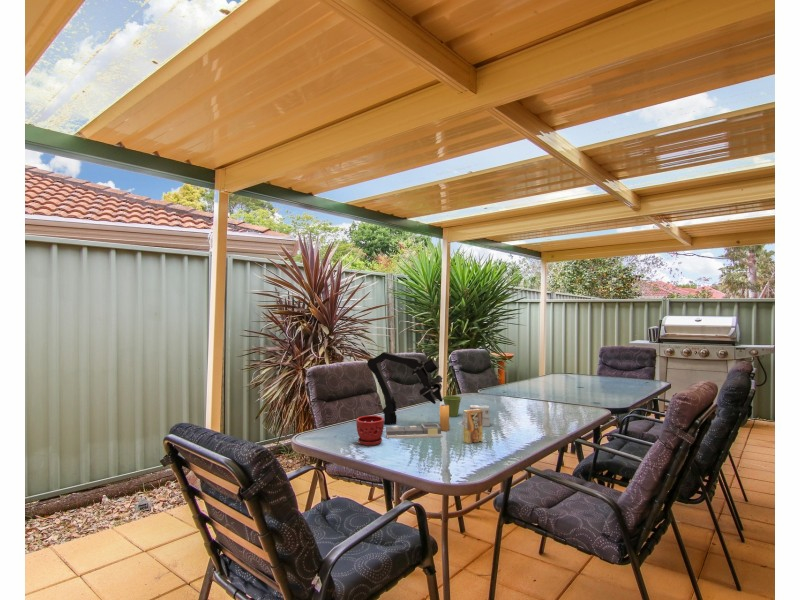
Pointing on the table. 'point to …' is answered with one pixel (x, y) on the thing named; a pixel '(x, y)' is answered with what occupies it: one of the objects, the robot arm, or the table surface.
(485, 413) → the light bulb box
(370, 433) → the plant pot
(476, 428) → the candy box
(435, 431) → the breaker panel
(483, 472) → the table surface
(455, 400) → the plant pot
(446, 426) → the cap
